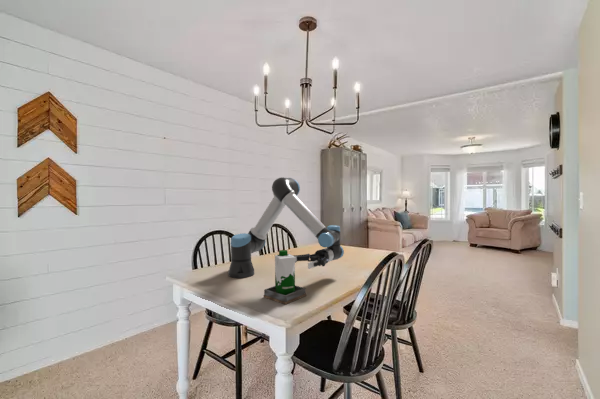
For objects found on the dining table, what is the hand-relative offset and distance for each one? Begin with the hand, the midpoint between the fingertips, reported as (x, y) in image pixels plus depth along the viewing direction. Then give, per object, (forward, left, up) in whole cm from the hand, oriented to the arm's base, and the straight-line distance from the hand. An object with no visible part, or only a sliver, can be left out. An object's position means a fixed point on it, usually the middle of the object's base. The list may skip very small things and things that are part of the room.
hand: (297, 263), depth 144 cm
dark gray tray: (0, -9, -14) cm, 16 cm away
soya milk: (0, -9, -13) cm, 16 cm away
